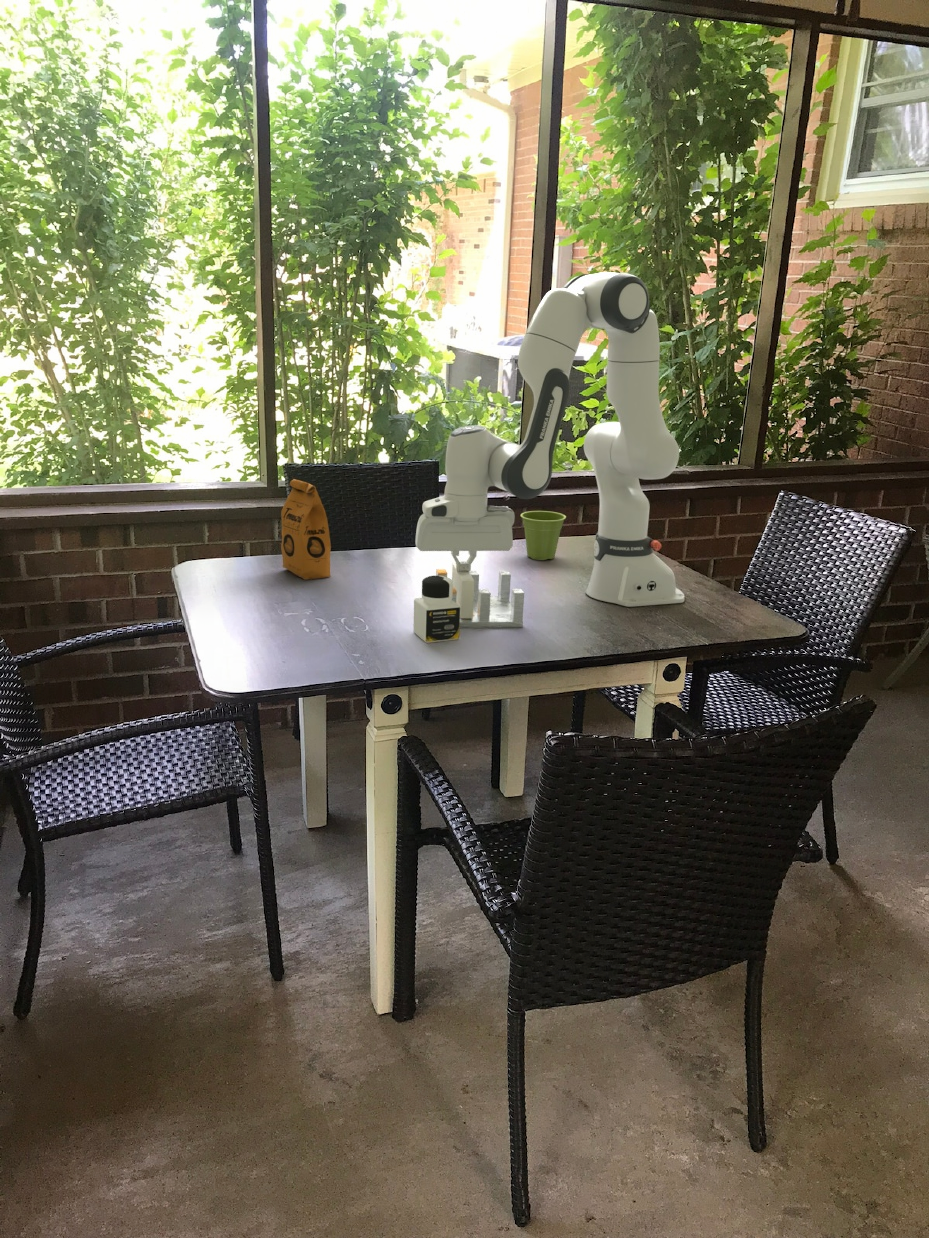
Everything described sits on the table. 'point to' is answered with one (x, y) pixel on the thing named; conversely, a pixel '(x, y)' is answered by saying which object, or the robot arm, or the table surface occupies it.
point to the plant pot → (542, 533)
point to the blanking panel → (464, 591)
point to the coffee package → (305, 533)
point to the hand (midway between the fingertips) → (463, 570)
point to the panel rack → (493, 604)
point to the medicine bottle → (436, 611)
